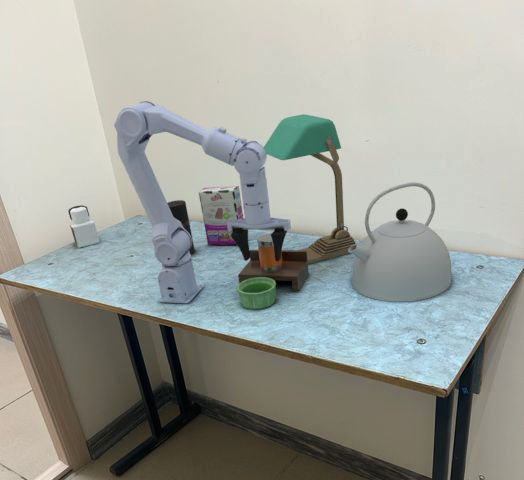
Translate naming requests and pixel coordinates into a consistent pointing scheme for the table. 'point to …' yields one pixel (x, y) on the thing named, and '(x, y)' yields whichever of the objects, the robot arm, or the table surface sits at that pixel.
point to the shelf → (291, 271)
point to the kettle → (401, 258)
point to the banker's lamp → (313, 143)
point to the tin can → (268, 255)
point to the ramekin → (257, 292)
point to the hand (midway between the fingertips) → (262, 259)
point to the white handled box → (82, 227)
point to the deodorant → (181, 217)
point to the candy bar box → (220, 212)
